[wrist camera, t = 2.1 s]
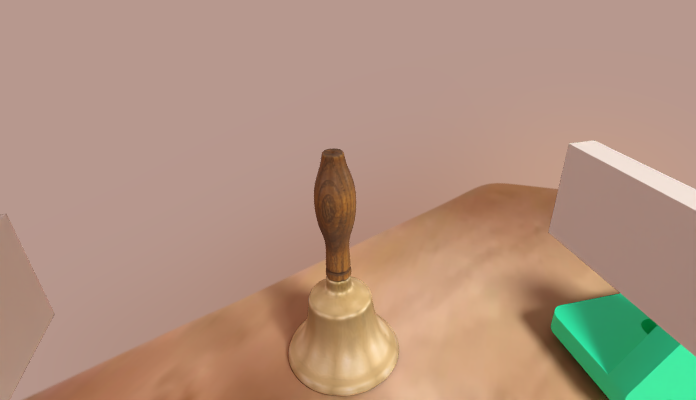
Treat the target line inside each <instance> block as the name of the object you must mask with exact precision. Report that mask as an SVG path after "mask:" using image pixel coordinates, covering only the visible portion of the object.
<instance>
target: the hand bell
mask: <svg viewBox="0 0 696 400" xmlns="http://www.w3.org/2000/svg"><path fill="white" fill-rule="evenodd" d="M314 204H315V212H316V217H317V221H318V225H319V227H320V230H321V232H322V234H323V237H324V240H325V244H326V275H327V276H326V279H324V280H322V281H320V282H319V283H317V284H316V285H315V286H314V287H313V289H312V290H311V292H310V295H309V299H308V315H307V320H305V321H304V322H303V323H302V324H301V325H300V326H299V328H298V329H297V330H296V332H295V333H294V335H293V337H292V340H291V342H290V345H289V354H288V355H289V363H290V366H291V368H292V370H293V372H294V374H295V375H296V377H297V378H298V379H299V380H300V381H301V382H302V383H303V384H305V385H306V386H307V387H309V388H311V389H312V390H314V391H317V392H319V393H323V394H327V395H339V396H349V395H355V394H359V393H363V392H366V391H368V390H370V389H372V388H374V387H376V386H377V385H379V384H380V383H381V382H383V381H384V380H385V379H386V378H387V377H388V376H389V375H390V374H391V372H392V371H393V369H394V367H395V365H396V363H397V360H398V355H399V344H398V340H397V337H396V335H395V333H394V331H393V329H392V328H391V327H390V325H389V324H388V323H387V322H386V321H385V320H384V319H383V318H382V317H380V316H379V315H377V314H376V313H375V310H374V306H373V301H372V295H371V291H370V289H369V288H368V286H367V285H366V284H365V283H364V282H363V281H361V280H359V279H357V278H355V277H351V267H350V253H349V239H350V234H351V231H352V228H353V225H354V220H355V213H356V192H355V187H354V182H353V179H352V176H351V174H350V171H349V169H348V166H347V164H346V160H345V157H344V153H343V151H342V150H340V149H327V150H324V151H323V152H322V157H321V163H320V168H319V171H318V174H317V178H316V182H315V188H314Z"/></svg>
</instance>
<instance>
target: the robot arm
mask: <svg viewBox="0 0 696 400" xmlns="http://www.w3.org/2000/svg"><path fill="white" fill-rule="evenodd" d="M549 233H550V234H551V235H552V236H553V237H555V238H556V239H557V240H558V241H559V242H561V243H562V244H563V245H564V246H565V247H566V248H568V249H569V250H570V251H571V252H572V253H574V254H575V255H576V256H577V257H578V258H579V259H581V260H582V261H583V262H584V263H585V264H587V265H588V266H589V267H590V268H591V269H592V270H594V271H595V272H596V273H597V274H598V275H600V276H601V277H602V278H603V279H604V280H605V281H607V282H608V283H609V284H610V285H611V286H613V287H614V288H615V289H616V290H617V291H618V292H620V293H621V294H622V295H623V296H624V297H626V298H627V299H628V300H629V301H630V302H631V303H633V304H634V305H635V306H636V307H637V308H639V309H640V310H641V311H642V312H643V313H644V314H646V315H647V316H648V317H649V318H650V319H652V320H653V321H654V322H655V323H656V324H657V325H659V326H660V327H661V328H662V329H663V330H665V331H666V332H667V333H668V334H669V335H670V336H672V337H673V338H674V339H675V340H676V341H678V342H679V343H680V344H681V345H682V346H683V347H685V348H686V349H687V350H688V351H689V352H691V353H692V354H693V355H694V356H695V357H696V189H694V188H692V187H690V186H688V185H686V184H684V183H682V182H680V181H678V180H676V179H674V178H672V177H670V176H667V175H665V174H663V173H661V172H659V171H657V170H655V169H653V168H651V167H649V166H647V165H645V164H642V163H640V162H638V161H636V160H634V159H632V158H630V157H628V156H626V155H624V154H622V153H620V152H618V151H616V150H613V149H611V148H609V147H607V146H605V145H603V144H601V143H599V142H597V141H595V140H594V141H586V142H577V143H569V145H568V150H567V154H566V159H565V163H564V167H563V171H562V176H561V180H560V184H559V189H558V193H557V197H556V202H555V206H554V210H553V215H552V219H551V223H550V228H549ZM53 316H54V312H53V310H52V308H51V306H50V304H49V301H48V299H47V297H46V295H45V293H44V291H43V289H42V287H41V285H40V283H39V281H38V279H37V276H36V274H35V272H34V270H33V268H32V266H31V264H30V262H29V260H28V258H27V255H26V254H25V252H24V249H23V247H22V245H21V243H20V241H19V239H18V237H17V235H16V233H15V230H14V228H13V226H12V224H11V222H10V220H9V218H8V216H7V214H0V400H10V398H11V396H12V394H13V392H14V390H15V389H16V387H17V385H18V383H19V381H20V379H21V377H22V375H23V373H24V371H25V369H26V368H27V365H28V364H29V362H30V360H31V358H32V356H33V354H34V352H35V350H36V349H37V347H38V345H39V343H40V341H41V339H42V337H43V335H44V333H45V331H46V329H47V328H48V326H49V324H50V322H51V320H52V318H53Z"/></svg>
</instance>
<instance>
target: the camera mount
mask: <svg viewBox="0 0 696 400" xmlns="http://www.w3.org/2000/svg"><path fill="white" fill-rule="evenodd" d="M551 330H552V332H553V333H554V334H555V336H556V337H557V338H558V339H559V340H560V342H561V343H562V344H563V345H564V346H565V347H566V349H567V350H568V351H569V352H570V353H571V355H572V356H573V357H574V358H575V359H576V360H577V362H578V363H579V364H580V365H581V366H582V368H583V369H584V370H585V371H586V372H587V373H588V375H589V376H590V377H591V378H592V379H593V381H594V382H595V383H596V384H597V385H598V386H599V388H600V389H601V390H602V391H603V392H604V394H605V395H606V396H607V397H608V398H609V399H610V400H696V357H695V356H694V355H693V354H692V353H691V352H689V351H688V350H687V349H686V348H685V347H683V346H682V345H681V344H680V343H679V342H678V341H676V340H675V339H674V338H673V337H672V336H670V335H669V334H668V333H667V332H666V331H665V330H663V329H662V328H661V327H660V326H659V325H657V324H656V323H655V322H654V321H653V320H652V319H650V318H649V317H648V316H647V315H646V314H644V313H643V312H642V311H641V310H640V309H639V308H637V307H636V306H635V305H634V304H633V303H631V302H630V301H629V300H628V299H627V298H626V297H624V296H623V295H622V294H621V293H620V294H615V295H610V296H605V297H600V298H595V299H590V300H584V301H579V302H574V303H569V304H564V305H560V306H558V307H556V308H555V311H554V315H553V319H552V323H551Z"/></svg>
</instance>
